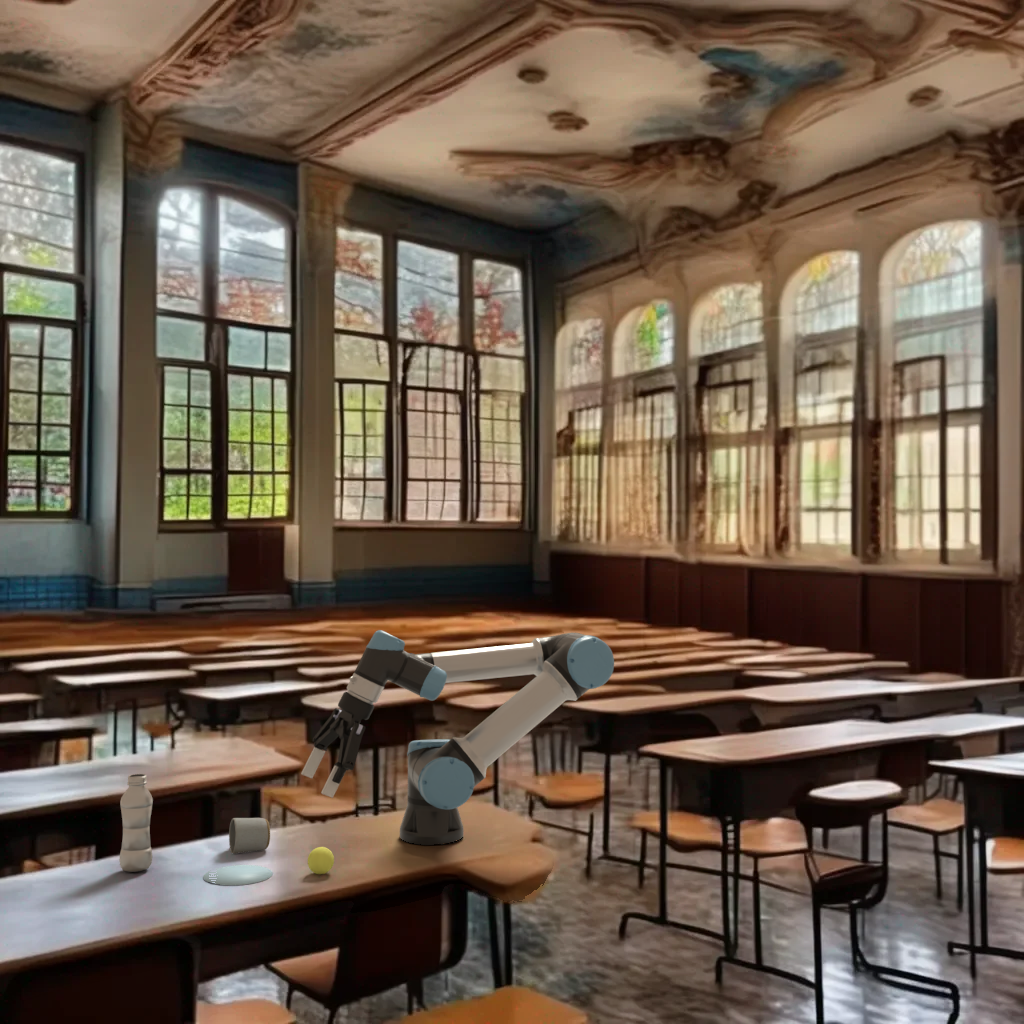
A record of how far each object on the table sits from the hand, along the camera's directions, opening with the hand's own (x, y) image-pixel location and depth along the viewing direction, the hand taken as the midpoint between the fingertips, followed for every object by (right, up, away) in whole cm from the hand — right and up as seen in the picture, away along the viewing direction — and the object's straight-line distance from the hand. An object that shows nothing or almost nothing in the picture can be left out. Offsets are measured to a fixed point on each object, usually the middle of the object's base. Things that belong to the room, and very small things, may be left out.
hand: (316, 785), depth 244 cm
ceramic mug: (-17, -17, +7) cm, 25 cm away
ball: (+3, -13, -11) cm, 17 cm away
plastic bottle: (-36, -16, -10) cm, 41 cm away
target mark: (-14, -16, -12) cm, 24 cm away
